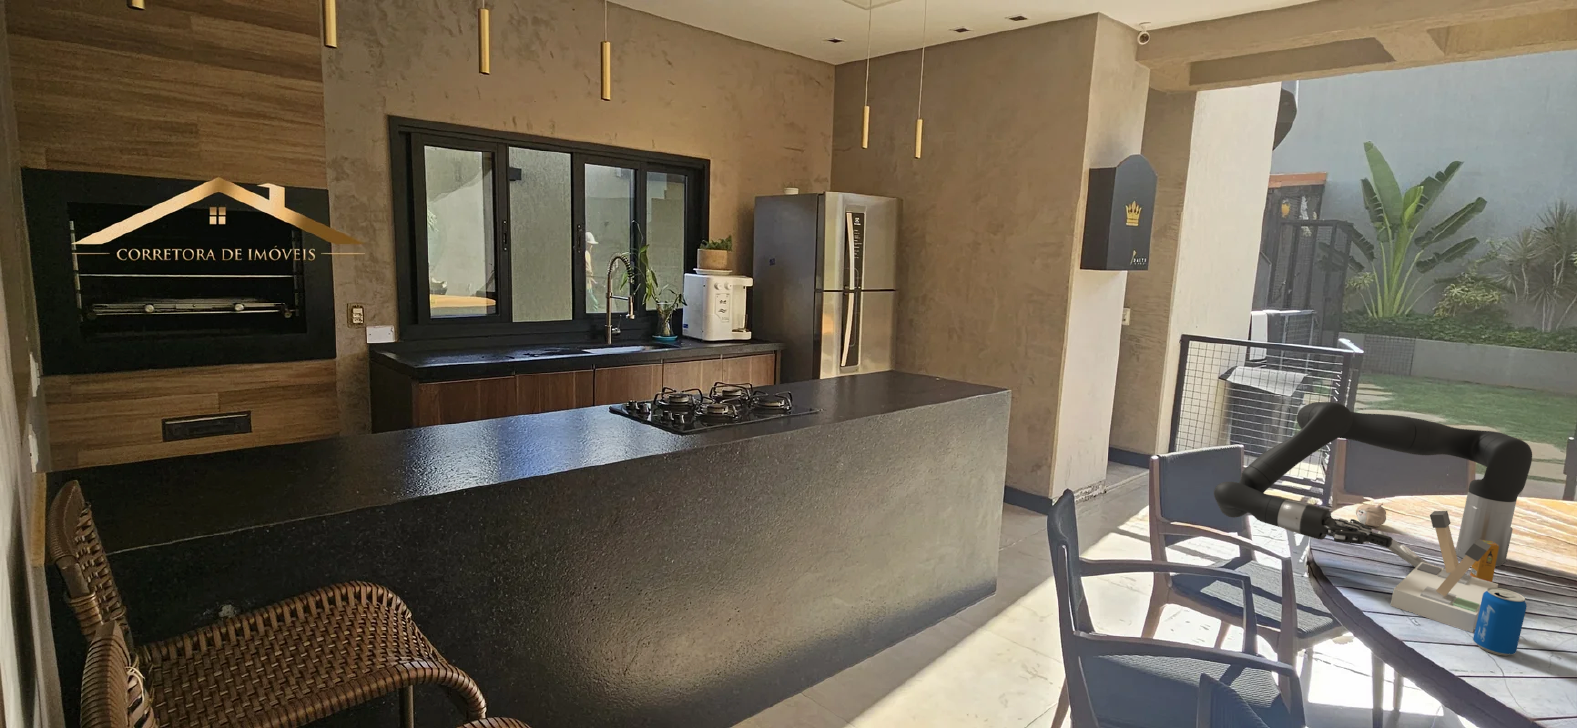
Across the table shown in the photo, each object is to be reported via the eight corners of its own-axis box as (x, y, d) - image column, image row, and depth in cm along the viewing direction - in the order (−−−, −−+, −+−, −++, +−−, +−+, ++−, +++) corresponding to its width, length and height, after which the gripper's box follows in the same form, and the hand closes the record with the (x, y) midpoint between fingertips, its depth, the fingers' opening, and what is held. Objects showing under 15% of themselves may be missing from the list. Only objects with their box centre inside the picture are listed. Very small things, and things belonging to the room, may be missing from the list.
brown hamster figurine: (1358, 526, 218) (1363, 500, 216) (1351, 519, 223) (1356, 493, 222) (1386, 531, 215) (1391, 504, 214) (1379, 523, 221) (1384, 496, 219)
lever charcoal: (1444, 572, 177) (1429, 514, 179) (1448, 567, 180) (1434, 510, 181) (1457, 573, 176) (1442, 514, 177) (1462, 568, 178) (1447, 510, 180)
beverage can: (1463, 640, 158) (1475, 586, 155) (1492, 639, 158) (1504, 586, 156) (1494, 657, 151) (1507, 601, 149) (1524, 657, 152) (1537, 601, 150)
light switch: (1439, 574, 185) (1384, 537, 190) (1422, 589, 187) (1368, 552, 192) (1435, 563, 191) (1382, 527, 196) (1418, 577, 193) (1366, 542, 199)
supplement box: (1484, 578, 187) (1493, 540, 185) (1492, 584, 184) (1500, 545, 182) (1467, 576, 188) (1476, 538, 186) (1475, 582, 185) (1483, 543, 183)
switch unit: (1390, 605, 171) (1394, 586, 171) (1418, 577, 186) (1421, 559, 186) (1472, 632, 161) (1476, 612, 160) (1494, 600, 176) (1498, 581, 175)
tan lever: (1433, 590, 167) (1473, 543, 161) (1438, 584, 169) (1478, 538, 163) (1446, 597, 165) (1487, 550, 159) (1450, 592, 168) (1491, 545, 162)
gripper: (1296, 510, 182) (1385, 534, 169) (1315, 498, 190) (1401, 520, 177) (1291, 540, 183) (1379, 565, 170) (1311, 527, 192) (1396, 550, 178)
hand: (1391, 542), depth 174 cm, fingers closed
